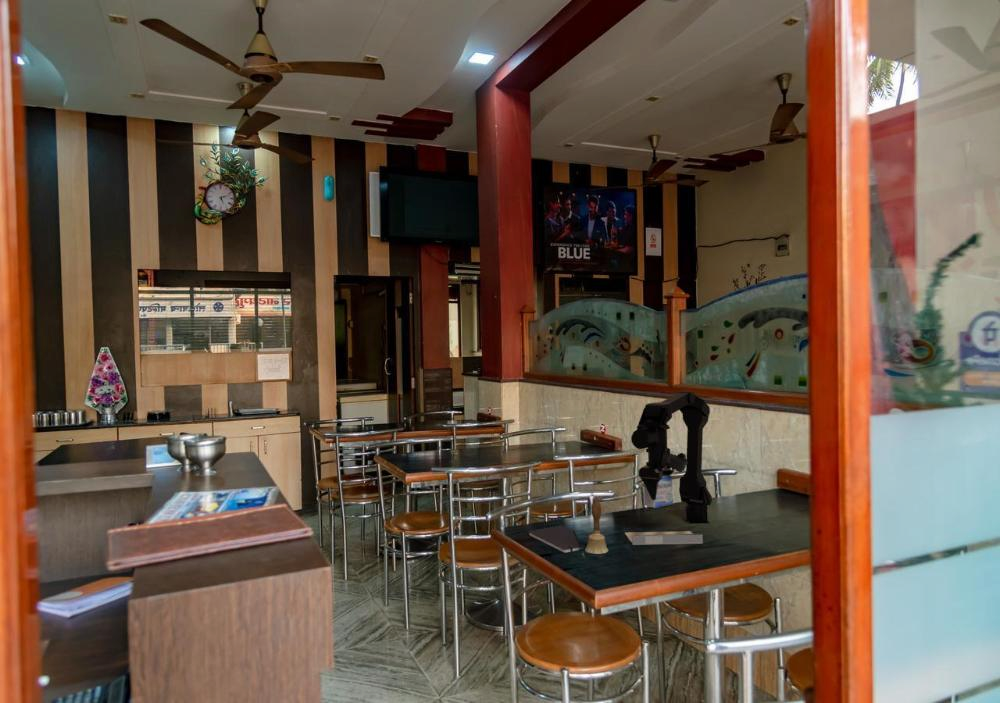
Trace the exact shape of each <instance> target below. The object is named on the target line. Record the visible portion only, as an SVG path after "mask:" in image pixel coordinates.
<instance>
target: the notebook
mask: <svg viewBox="0 0 1000 703" xmlns="http://www.w3.org/2000/svg"><path fill="white" fill-rule="evenodd" d="M528 534H529V536H530V537H532V538H534V539H536V540H539V541H540V542H543V543H544V544H547V545H549V546H550V547H553V548H554V549H556V550H558V551H560V552H562V553H570V552H571V553H572V552H575V551H580V550H583V548H582V546H581V544H580V541H579V539H578V537H577V534H576V531H575V530H574V529H570V528H569V527H567V526H564V525H557V526H556V525H555V526H550V527H545V528H544V527H543V528H538V529H532V530H528Z"/></svg>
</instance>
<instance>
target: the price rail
mask: <svg viewBox="0 0 1000 703" xmlns="http://www.w3.org/2000/svg"><path fill="white" fill-rule="evenodd" d="M703 536H704V535H703V534H702V533H692V534H663V535H632V543H631V545H633V546H636V545H638V546H640V545H641V546H642V544H650V545H687V544H688V545H689V544H690V543H699V544H704V542H703V541H704V540H703Z"/></svg>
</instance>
